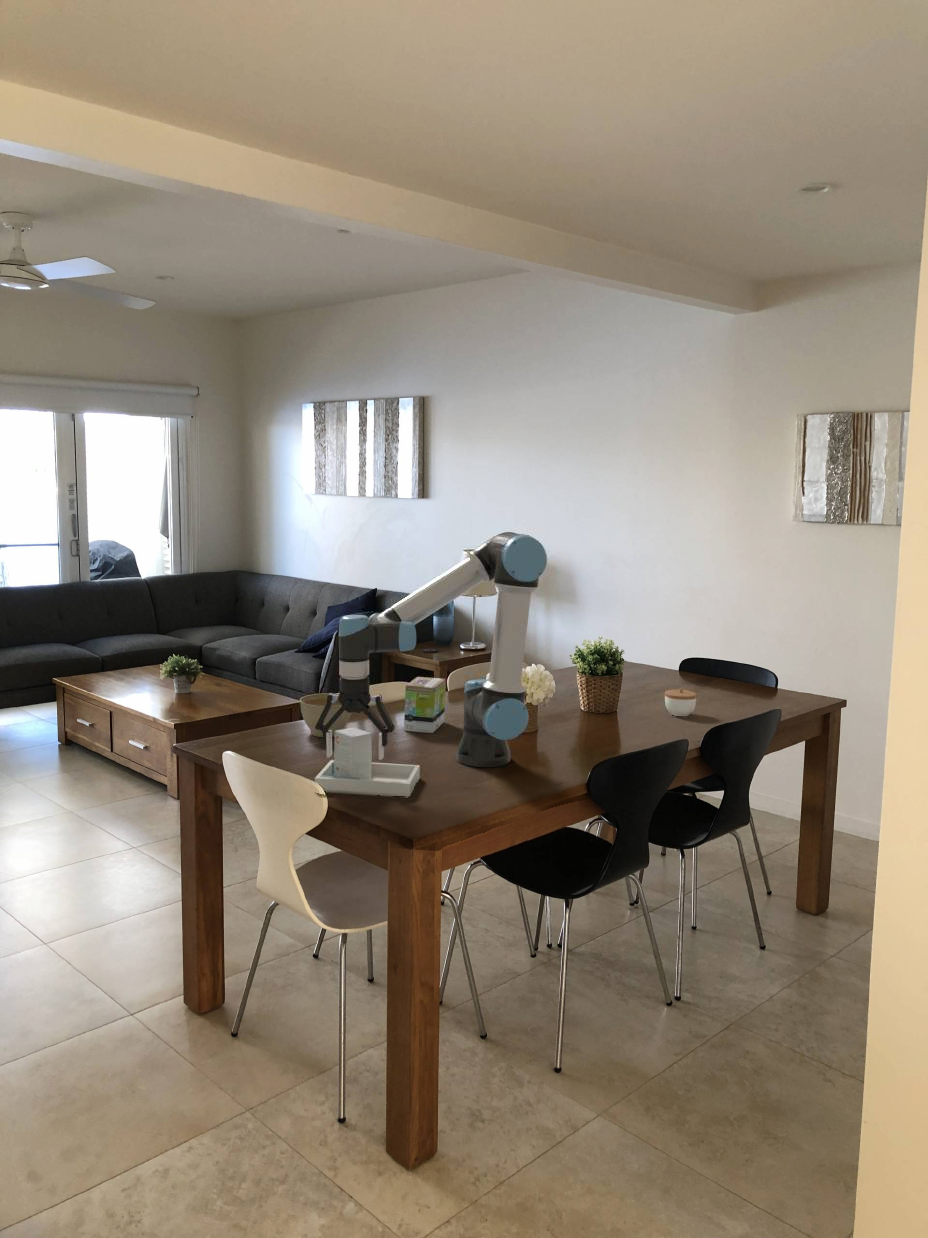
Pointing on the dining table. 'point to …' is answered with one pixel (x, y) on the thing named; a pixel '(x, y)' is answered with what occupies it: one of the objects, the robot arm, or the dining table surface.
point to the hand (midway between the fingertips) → (355, 757)
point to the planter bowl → (313, 710)
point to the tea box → (424, 704)
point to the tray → (372, 780)
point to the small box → (353, 753)
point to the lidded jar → (680, 702)
